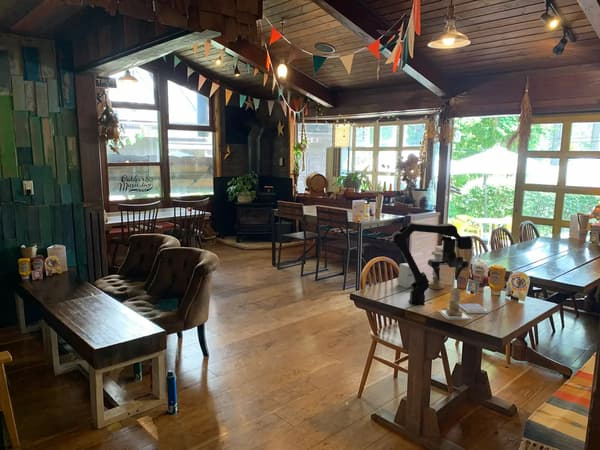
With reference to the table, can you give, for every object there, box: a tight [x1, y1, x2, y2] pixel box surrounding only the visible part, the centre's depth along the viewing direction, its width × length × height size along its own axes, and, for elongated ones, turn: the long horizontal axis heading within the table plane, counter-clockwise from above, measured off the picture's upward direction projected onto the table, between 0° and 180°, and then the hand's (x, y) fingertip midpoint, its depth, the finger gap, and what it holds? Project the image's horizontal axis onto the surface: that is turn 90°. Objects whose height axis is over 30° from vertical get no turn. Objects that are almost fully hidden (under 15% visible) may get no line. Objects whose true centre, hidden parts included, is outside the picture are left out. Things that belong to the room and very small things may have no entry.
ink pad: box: [459, 303, 488, 314], centre depth 216 cm, size 10×10×2 cm
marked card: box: [437, 309, 473, 320], centre depth 208 cm, size 12×12×1 cm
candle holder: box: [428, 250, 445, 290], centre depth 249 cm, size 9×9×20 cm
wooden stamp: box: [445, 287, 463, 317], centre depth 207 cm, size 6×6×13 cm
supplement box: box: [397, 262, 415, 289], centre depth 251 cm, size 7×7×13 cm
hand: (447, 279), depth 219 cm, fingers open, 9 cm apart
